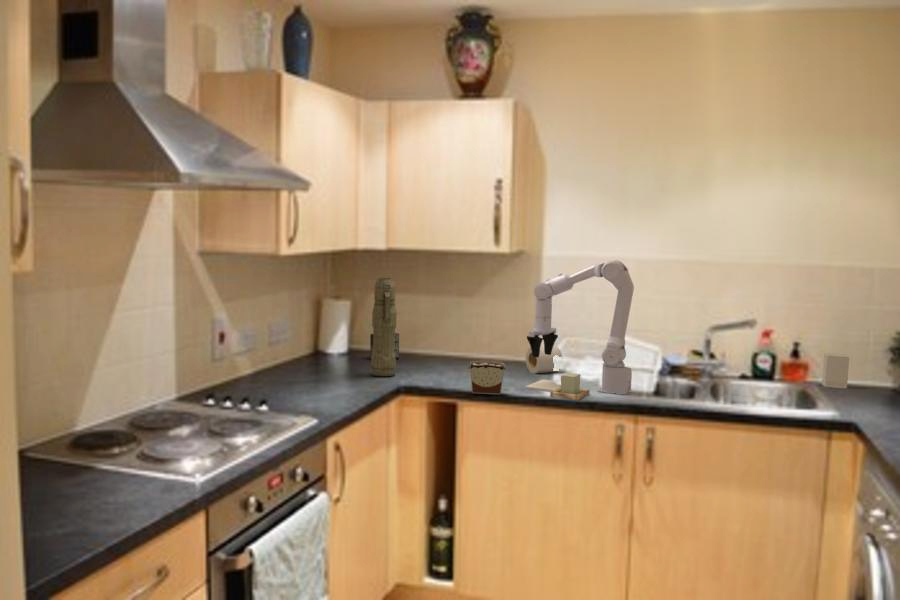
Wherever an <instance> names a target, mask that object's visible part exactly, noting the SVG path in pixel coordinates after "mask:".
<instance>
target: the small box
mask: <svg viewBox="0 0 900 600" xmlns="http://www.w3.org/2000/svg"><path fill="white" fill-rule="evenodd" d="M369 335H370V338H369V339H370V344H369V345H370V347H369V358H371V356H372V353H373V333H370V334H369ZM394 353H395V356H396V358H399V359H400V333H399V332H398V333H397V332H395V349H394Z"/></svg>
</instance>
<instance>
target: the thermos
mask: <svg viewBox="0 0 900 600" xmlns="http://www.w3.org/2000/svg"><path fill="white" fill-rule="evenodd" d="M373 292H374V295H373V297H374V299H373V300H374V303H373V305H374V307H373V309H372V314H371V317H372V318H371V324H372V325H371V326H372V328H373V333H372V334H373V353H372V356H371V359H370V361H371V363H370V367H371V375H372V376H375V377H392V376H395V375H396V365H397V363H396V361H397V359H396V356H395V353H394V349H395V333H396V328H397V314H398V313H397V309H396V303H395V301H396V284H395V280H394V279H392V278H391V277H379V278H377V279H376V280H375V285H374V291H373Z"/></svg>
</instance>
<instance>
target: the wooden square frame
mask: <svg viewBox="0 0 900 600" xmlns="http://www.w3.org/2000/svg"><path fill="white" fill-rule="evenodd" d="M560 390H561V387H560V388H558V389H556V390H554V391H552V392H549V393H550V397H552V398H558V399H567V400H571V401H572V400H573V401H580V400H581V399H583V398H584V397H586V396H588V395H590V389H585V388H580V393H579V394H577V395H574V394H566V393H560Z"/></svg>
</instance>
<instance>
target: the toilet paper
mask: <svg viewBox="0 0 900 600" xmlns="http://www.w3.org/2000/svg"><path fill="white" fill-rule="evenodd" d="M555 355H558V356H559V357H562V358H563V354H562V351H561V349H560V348H559V347H558V346H557V345H553V349H552V352H551V355H547V354H545V351H544V346H540V354H539V357H533V355H532V350H531V346H530V347H529V348H528V349H527V351H526V354H525V364H526V368H527V370H528V372H530V373H532V374H545V373H548V374H549V373H554V372H553V368H554V363H553V357H554V356H555Z"/></svg>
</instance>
